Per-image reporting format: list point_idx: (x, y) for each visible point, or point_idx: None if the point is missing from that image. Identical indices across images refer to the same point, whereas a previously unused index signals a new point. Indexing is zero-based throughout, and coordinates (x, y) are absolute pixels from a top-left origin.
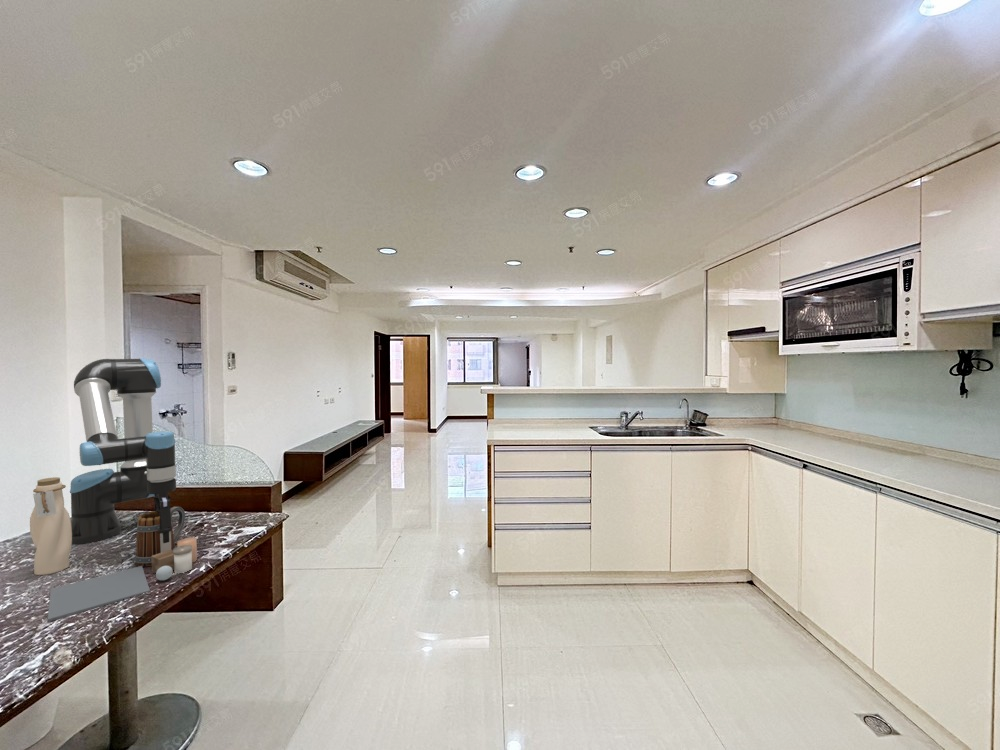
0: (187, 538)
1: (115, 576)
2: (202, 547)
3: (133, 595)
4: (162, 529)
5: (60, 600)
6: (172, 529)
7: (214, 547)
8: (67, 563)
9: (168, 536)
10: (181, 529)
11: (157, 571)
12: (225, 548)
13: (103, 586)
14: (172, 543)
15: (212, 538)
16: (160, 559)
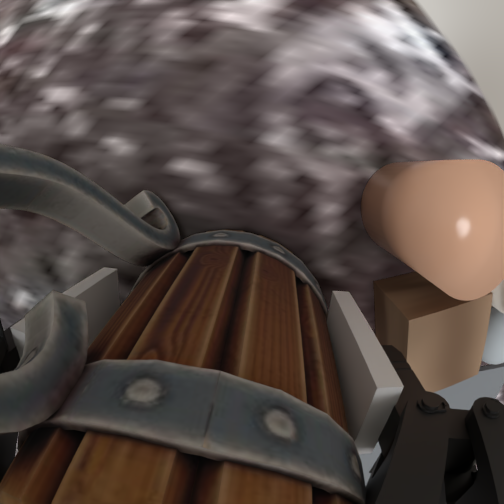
0: (445, 213)
1: None
2: (235, 82)
3: (496, 395)
4: (471, 474)
5: None
6: (217, 320)
7: (293, 37)
8: None
9: (415, 379)
10: (86, 181)
11: (500, 363)
12: (355, 13)
13: (371, 460)
14: (290, 284)
15: (133, 26)
16: (478, 368)
